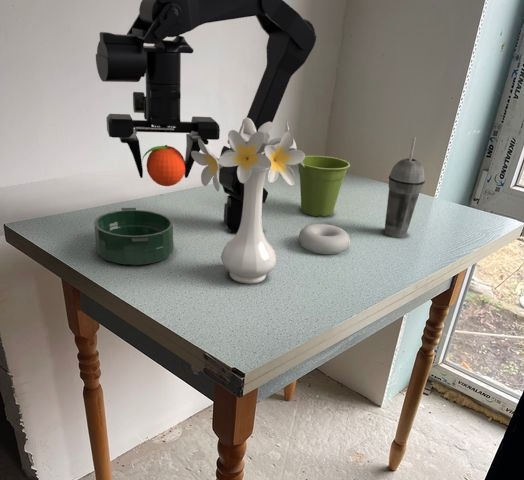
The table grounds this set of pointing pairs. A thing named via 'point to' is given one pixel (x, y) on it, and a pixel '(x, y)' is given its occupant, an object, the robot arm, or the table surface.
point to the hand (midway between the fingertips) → (164, 177)
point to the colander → (133, 236)
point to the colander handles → (141, 239)
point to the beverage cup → (403, 194)
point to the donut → (324, 239)
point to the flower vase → (251, 192)
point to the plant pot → (321, 183)
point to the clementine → (165, 165)
